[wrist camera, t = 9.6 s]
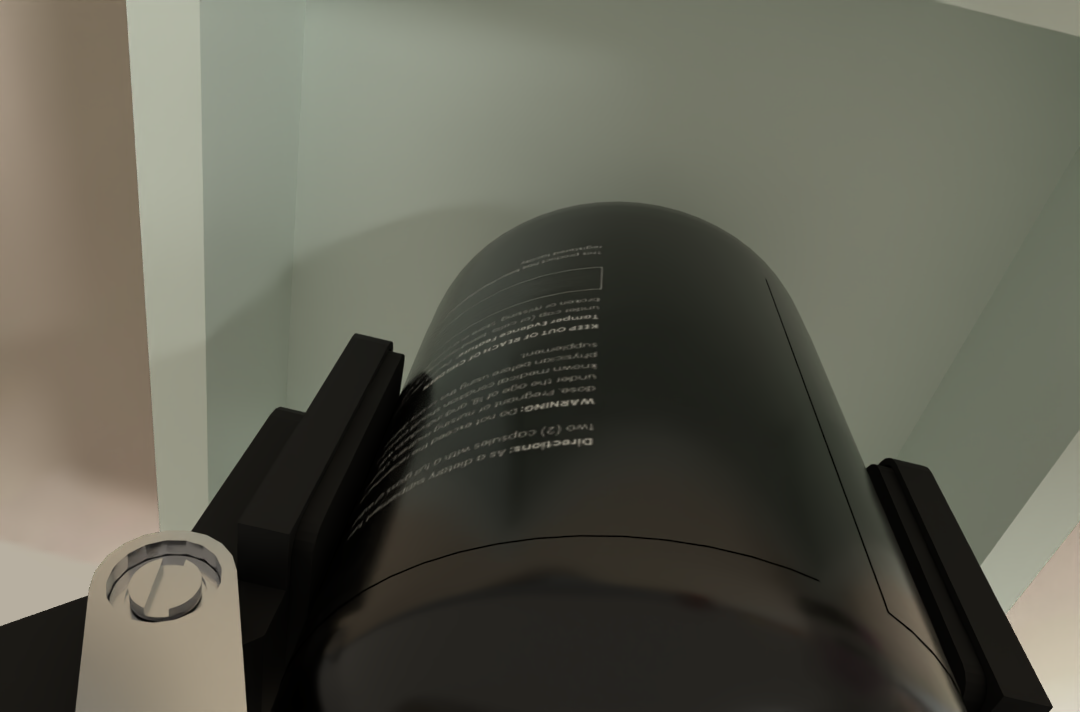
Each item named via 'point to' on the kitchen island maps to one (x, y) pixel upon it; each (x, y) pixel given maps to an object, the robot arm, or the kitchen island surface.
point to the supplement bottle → (617, 500)
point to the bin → (628, 176)
